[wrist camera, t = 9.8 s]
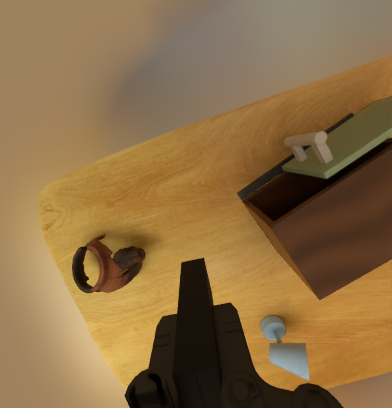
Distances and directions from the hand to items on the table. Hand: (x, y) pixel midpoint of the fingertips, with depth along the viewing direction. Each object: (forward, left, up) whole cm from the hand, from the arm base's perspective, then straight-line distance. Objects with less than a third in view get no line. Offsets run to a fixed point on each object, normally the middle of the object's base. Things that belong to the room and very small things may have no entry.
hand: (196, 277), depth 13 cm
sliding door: (+2, +23, -19) cm, 30 cm away
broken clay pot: (0, -16, -20) cm, 26 cm away
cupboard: (+10, +17, -20) cm, 28 cm away
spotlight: (+31, -2, -20) cm, 37 cm away
